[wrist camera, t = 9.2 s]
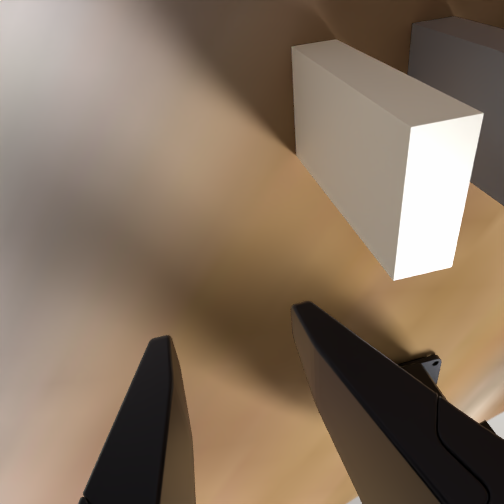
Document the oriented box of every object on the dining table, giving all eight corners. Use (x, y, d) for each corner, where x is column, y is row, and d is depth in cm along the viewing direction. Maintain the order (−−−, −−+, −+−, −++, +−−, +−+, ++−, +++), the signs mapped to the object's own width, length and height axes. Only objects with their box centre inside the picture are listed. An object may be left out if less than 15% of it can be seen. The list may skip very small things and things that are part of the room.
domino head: (335, 39, 19) (483, 113, 11) (334, 148, 22) (451, 266, 14) (291, 46, 19) (410, 126, 11) (296, 155, 22) (393, 280, 14)
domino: (454, 16, 20) (671, 72, 12) (438, 125, 23) (604, 227, 15) (412, 23, 20) (606, 85, 12) (401, 132, 23) (551, 240, 15)
